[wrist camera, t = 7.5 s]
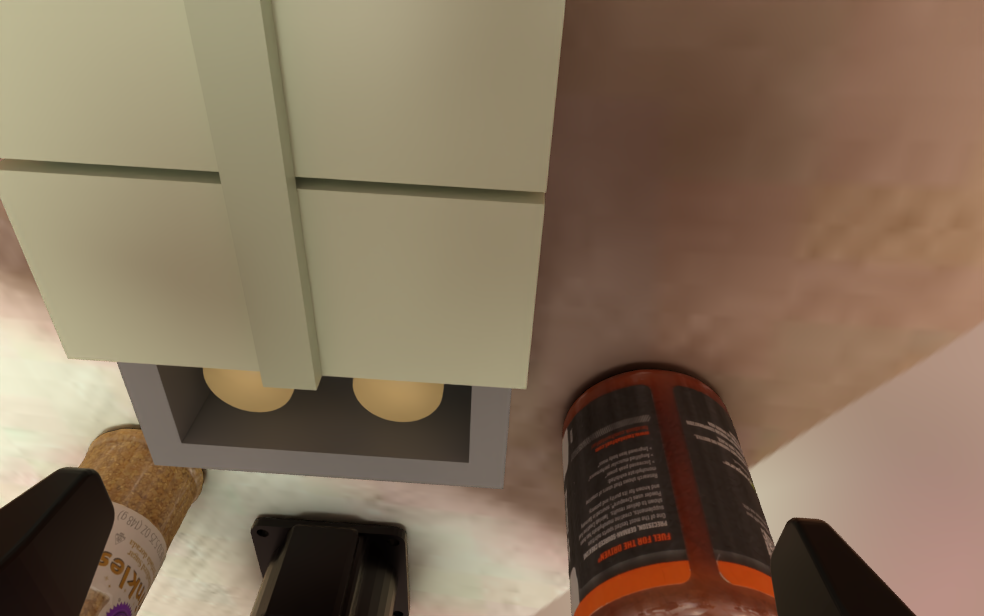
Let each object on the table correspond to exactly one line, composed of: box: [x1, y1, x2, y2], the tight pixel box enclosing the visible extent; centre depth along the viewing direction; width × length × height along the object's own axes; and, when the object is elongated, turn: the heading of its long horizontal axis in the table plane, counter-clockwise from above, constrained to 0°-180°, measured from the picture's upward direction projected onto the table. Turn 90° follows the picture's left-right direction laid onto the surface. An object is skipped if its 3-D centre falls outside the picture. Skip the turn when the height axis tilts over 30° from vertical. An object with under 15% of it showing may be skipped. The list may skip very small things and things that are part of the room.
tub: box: [117, 362, 512, 489], centre depth 17 cm, size 14×10×5 cm
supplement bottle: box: [562, 369, 778, 616], centre depth 20 cm, size 6×6×11 cm
